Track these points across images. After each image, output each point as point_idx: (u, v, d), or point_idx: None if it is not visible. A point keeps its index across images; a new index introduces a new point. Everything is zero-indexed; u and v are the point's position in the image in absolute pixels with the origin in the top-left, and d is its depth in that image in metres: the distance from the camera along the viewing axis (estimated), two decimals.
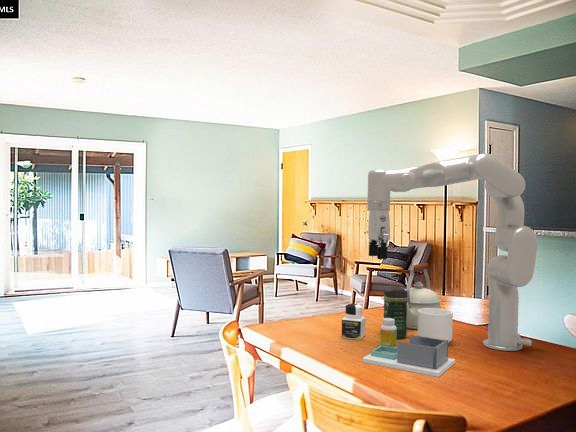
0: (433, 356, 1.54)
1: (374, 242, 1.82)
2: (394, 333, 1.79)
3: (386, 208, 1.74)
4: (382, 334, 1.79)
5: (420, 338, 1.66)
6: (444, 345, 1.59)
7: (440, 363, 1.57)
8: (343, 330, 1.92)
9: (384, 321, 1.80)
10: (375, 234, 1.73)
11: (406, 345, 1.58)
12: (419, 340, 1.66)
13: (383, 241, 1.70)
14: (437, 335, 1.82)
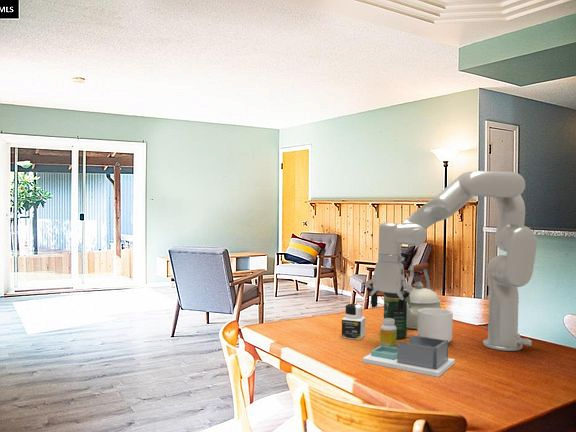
0: (433, 356, 1.54)
1: (375, 293, 1.83)
2: (394, 333, 1.79)
3: None
4: (382, 334, 1.79)
5: (420, 338, 1.66)
6: (444, 345, 1.59)
7: (440, 363, 1.57)
8: (343, 330, 1.92)
9: (384, 321, 1.80)
10: (396, 287, 1.76)
11: (406, 345, 1.58)
12: (419, 340, 1.66)
13: (408, 294, 1.76)
14: (437, 335, 1.82)
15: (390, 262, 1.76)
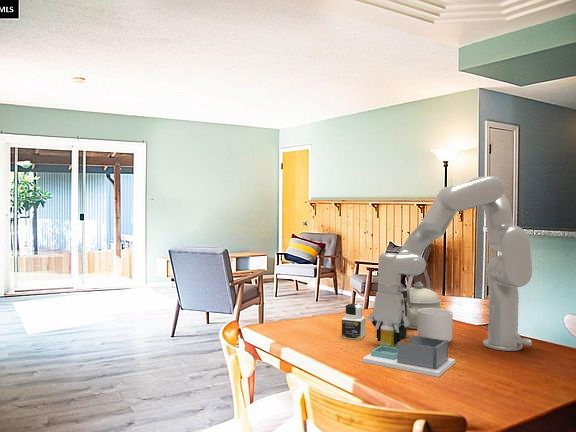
0: (433, 356, 1.54)
1: (380, 326, 1.83)
2: None
3: None
4: (382, 334, 1.79)
5: (420, 338, 1.66)
6: (444, 345, 1.59)
7: (440, 363, 1.57)
8: (343, 330, 1.92)
9: None
10: (397, 318, 1.77)
11: (406, 345, 1.58)
12: (419, 340, 1.66)
13: (404, 327, 1.77)
14: (437, 335, 1.82)
15: (390, 293, 1.77)
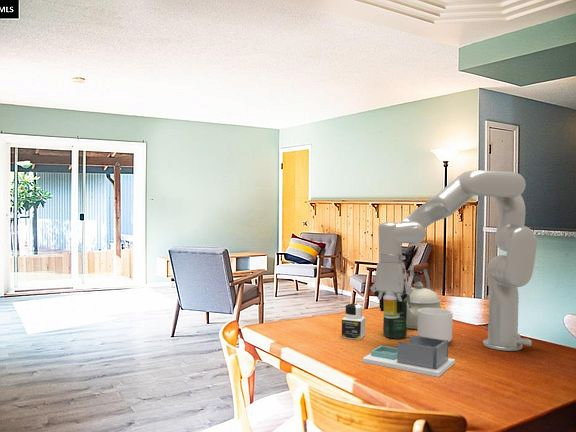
0: (433, 356, 1.54)
1: None
2: None
3: None
4: (385, 304, 1.79)
5: (420, 338, 1.66)
6: (444, 345, 1.59)
7: (440, 363, 1.57)
8: (343, 330, 1.92)
9: None
10: (399, 287, 1.76)
11: (406, 345, 1.58)
12: (419, 340, 1.66)
13: (406, 295, 1.77)
14: (437, 335, 1.82)
15: (391, 262, 1.76)
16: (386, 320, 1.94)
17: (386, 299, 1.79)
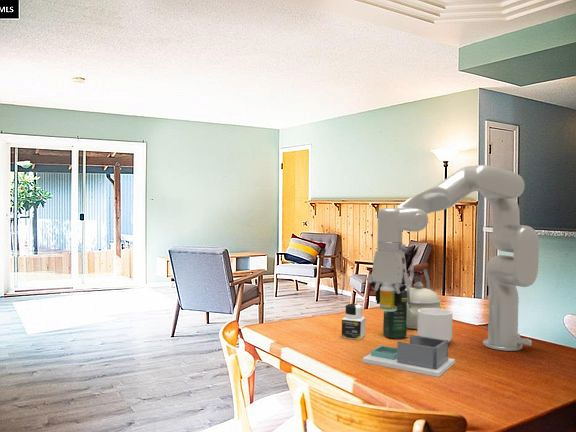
0: (433, 356, 1.54)
1: (379, 287, 1.69)
2: (394, 294, 1.65)
3: None
4: (382, 295, 1.66)
5: (420, 338, 1.66)
6: (444, 345, 1.59)
7: (440, 363, 1.57)
8: (343, 330, 1.92)
9: None
10: (397, 277, 1.63)
11: (406, 345, 1.58)
12: (419, 340, 1.66)
13: (405, 287, 1.64)
14: (437, 335, 1.82)
15: (390, 250, 1.63)
16: (386, 320, 1.94)
17: (383, 290, 1.66)
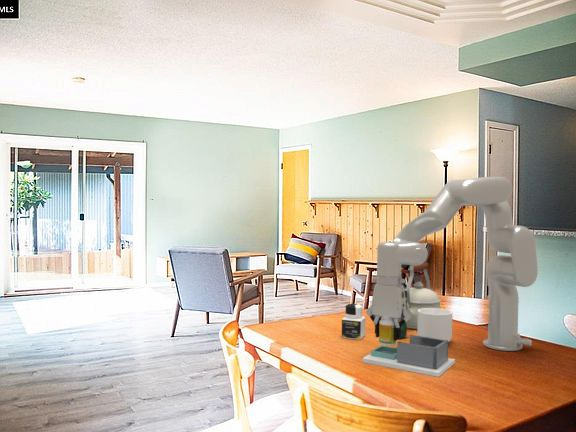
0: (433, 356, 1.54)
1: None
2: None
3: None
4: (381, 329, 1.66)
5: (420, 338, 1.66)
6: (444, 345, 1.59)
7: (440, 363, 1.57)
8: (343, 330, 1.92)
9: None
10: (397, 312, 1.63)
11: (406, 345, 1.58)
12: (419, 340, 1.66)
13: (404, 322, 1.64)
14: (437, 335, 1.82)
15: (390, 285, 1.63)
16: None
17: (382, 324, 1.66)
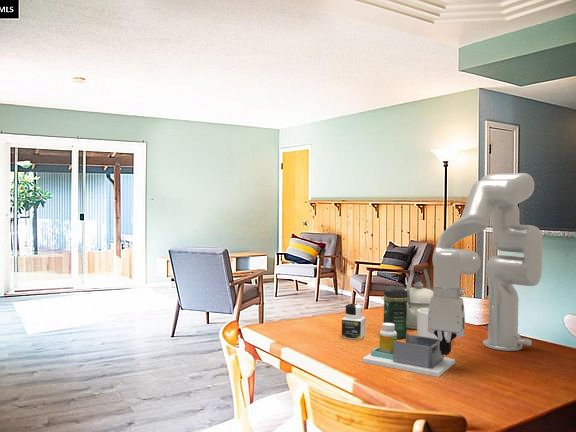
0: (428, 355, 1.54)
1: (443, 336, 1.58)
2: (394, 339, 1.66)
3: None
4: (381, 340, 1.66)
5: (416, 337, 1.67)
6: None
7: (436, 362, 1.58)
8: (343, 330, 1.92)
9: (383, 326, 1.66)
10: (457, 326, 1.53)
11: (402, 344, 1.59)
12: (415, 339, 1.67)
13: (456, 336, 1.55)
14: None
15: (449, 297, 1.53)
16: (386, 320, 1.94)
17: (383, 335, 1.66)
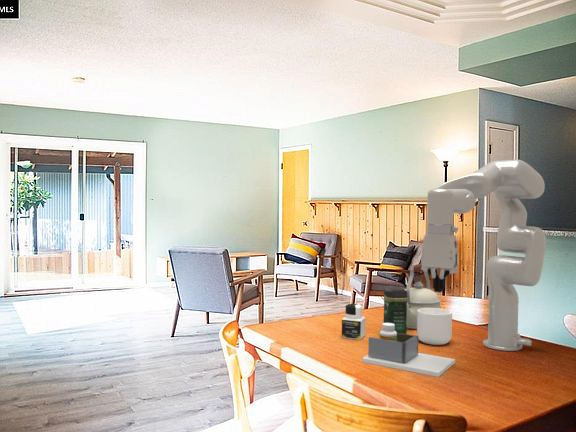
0: (402, 350, 1.59)
1: (436, 274, 1.59)
2: (394, 339, 1.66)
3: None
4: None
5: None
6: (414, 340, 1.65)
7: (410, 357, 1.62)
8: (343, 330, 1.92)
9: (383, 326, 1.66)
10: (450, 262, 1.54)
11: (377, 340, 1.63)
12: None
13: (449, 272, 1.56)
14: (436, 335, 1.82)
15: (442, 233, 1.54)
16: (386, 320, 1.94)
17: (383, 335, 1.66)
